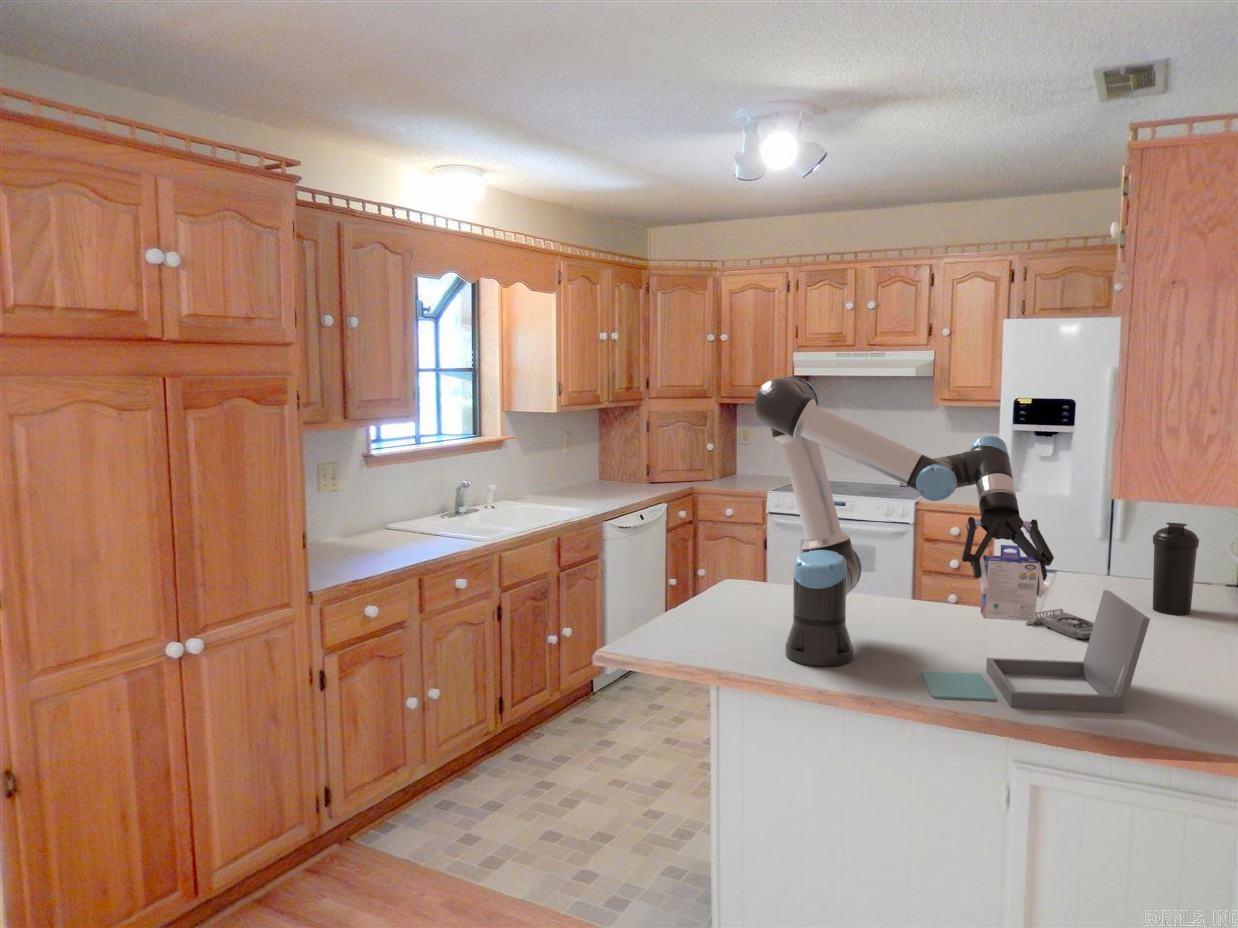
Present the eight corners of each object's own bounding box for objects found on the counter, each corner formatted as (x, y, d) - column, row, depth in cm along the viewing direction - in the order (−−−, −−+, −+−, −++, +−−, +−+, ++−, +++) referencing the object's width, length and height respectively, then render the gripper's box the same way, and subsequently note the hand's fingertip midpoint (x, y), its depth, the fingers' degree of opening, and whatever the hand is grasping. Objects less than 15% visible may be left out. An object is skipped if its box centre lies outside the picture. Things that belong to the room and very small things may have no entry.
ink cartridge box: (1029, 614, 181) (1034, 545, 179) (1036, 622, 176) (1042, 551, 174) (978, 611, 183) (983, 542, 181) (984, 619, 178) (989, 548, 175)
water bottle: (1194, 608, 234) (1199, 523, 231) (1194, 618, 226) (1200, 529, 223) (1149, 603, 240) (1154, 519, 237) (1148, 612, 231) (1153, 526, 228)
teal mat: (932, 698, 177) (932, 695, 177) (921, 673, 191) (921, 671, 191) (996, 700, 175) (996, 698, 175) (979, 675, 189) (979, 673, 189)
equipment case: (1010, 707, 172) (1014, 613, 169) (986, 671, 191) (989, 586, 189) (1144, 713, 168) (1150, 617, 165) (1105, 675, 187) (1109, 589, 185)
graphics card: (1022, 612, 223) (1061, 606, 227) (1022, 626, 224) (1060, 620, 227) (1074, 632, 207) (1115, 626, 211) (1074, 648, 208) (1114, 641, 211)
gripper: (1048, 512, 190) (1067, 604, 177) (939, 508, 193) (950, 598, 180) (1058, 491, 184) (1079, 585, 171) (945, 488, 187) (957, 579, 174)
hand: (1013, 592), depth 176 cm, fingers closed on ink cartridge box, 10 cm apart
